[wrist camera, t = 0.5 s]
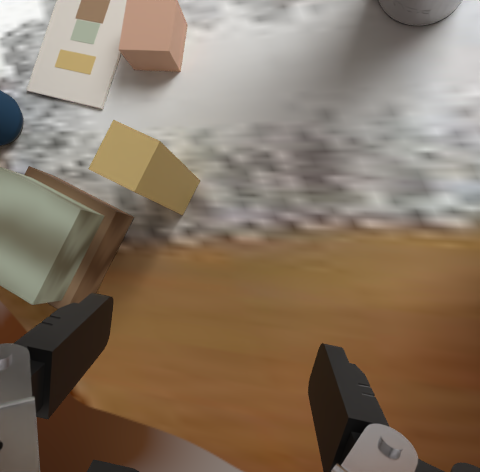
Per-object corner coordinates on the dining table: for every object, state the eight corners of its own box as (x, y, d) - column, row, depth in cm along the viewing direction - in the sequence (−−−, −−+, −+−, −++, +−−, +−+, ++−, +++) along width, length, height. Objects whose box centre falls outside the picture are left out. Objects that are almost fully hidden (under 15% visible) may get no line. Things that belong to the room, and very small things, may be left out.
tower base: (54, 176, 40) (-3, 153, 32) (134, 217, 38) (94, 204, 30) (9, 262, 40) (-59, 261, 32) (87, 308, 38) (35, 319, 30)
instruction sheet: (66, -23, 43) (64, -25, 42) (141, -10, 41) (140, -12, 40) (28, 91, 42) (26, 90, 42) (102, 109, 40) (101, 108, 40)
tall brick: (167, 165, 38) (113, 119, 26) (200, 180, 37) (159, 141, 26) (150, 199, 38) (88, 169, 26) (182, 215, 37) (134, 191, 26)
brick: (142, 25, 41) (126, -1, 37) (187, 26, 40) (177, -1, 36) (134, 70, 40) (118, 49, 36) (181, 72, 39) (169, 51, 35)
